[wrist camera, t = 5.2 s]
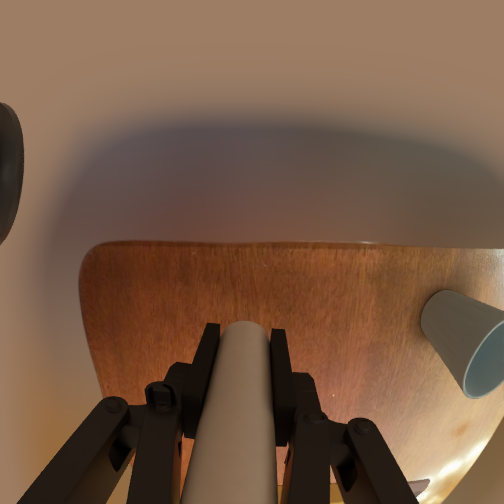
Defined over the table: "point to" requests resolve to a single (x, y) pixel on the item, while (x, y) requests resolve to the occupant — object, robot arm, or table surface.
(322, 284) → the table surface
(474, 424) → the table surface
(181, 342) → the table surface
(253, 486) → the peg
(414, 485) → the remote control
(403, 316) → the table surface
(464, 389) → the cup
